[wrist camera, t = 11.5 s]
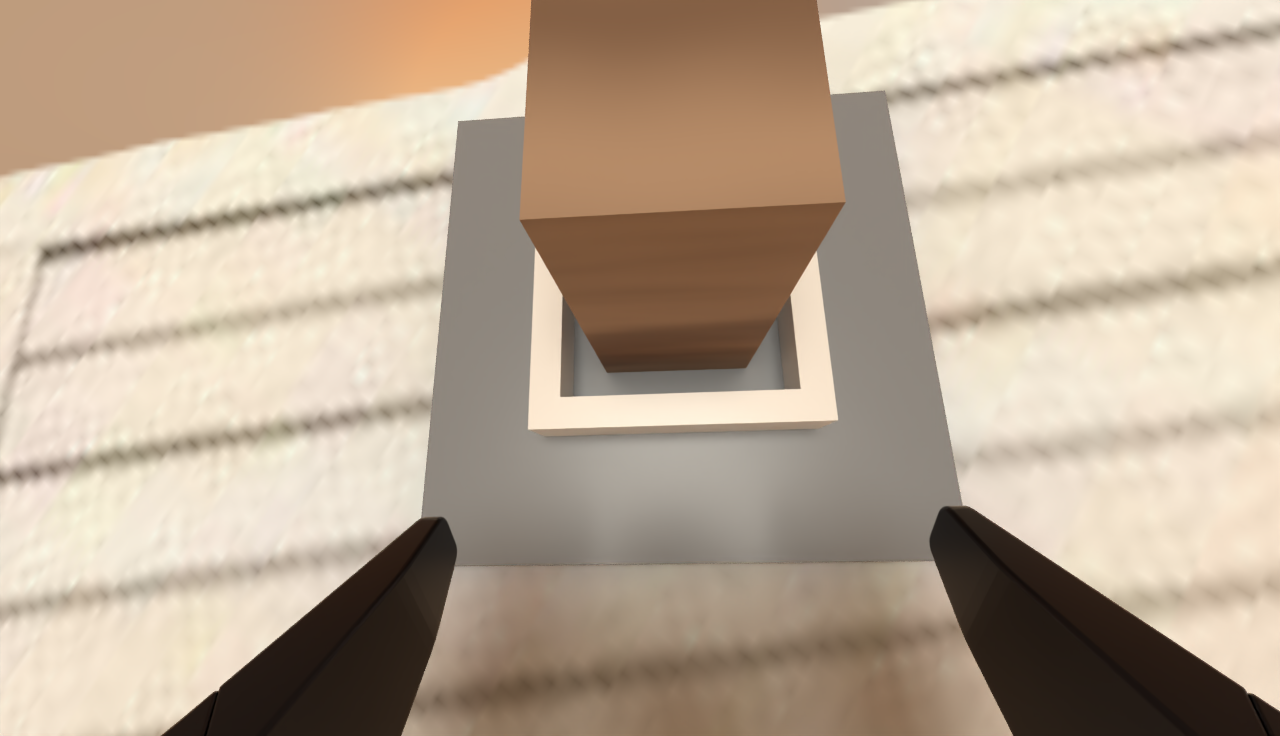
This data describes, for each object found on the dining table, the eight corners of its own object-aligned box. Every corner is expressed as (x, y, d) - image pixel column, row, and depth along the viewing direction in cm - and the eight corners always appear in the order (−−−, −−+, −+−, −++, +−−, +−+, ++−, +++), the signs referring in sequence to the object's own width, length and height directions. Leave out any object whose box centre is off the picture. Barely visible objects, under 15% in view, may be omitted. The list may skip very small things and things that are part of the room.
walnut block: (746, 368, 17) (845, 202, 7) (607, 372, 17) (519, 219, 7) (736, 242, 18) (809, -46, 8) (607, 248, 18) (532, -21, 9)
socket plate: (950, 555, 16) (1017, 570, 13) (434, 561, 17) (381, 577, 14) (872, 113, 20) (908, 46, 17) (470, 141, 21) (435, 82, 18)
